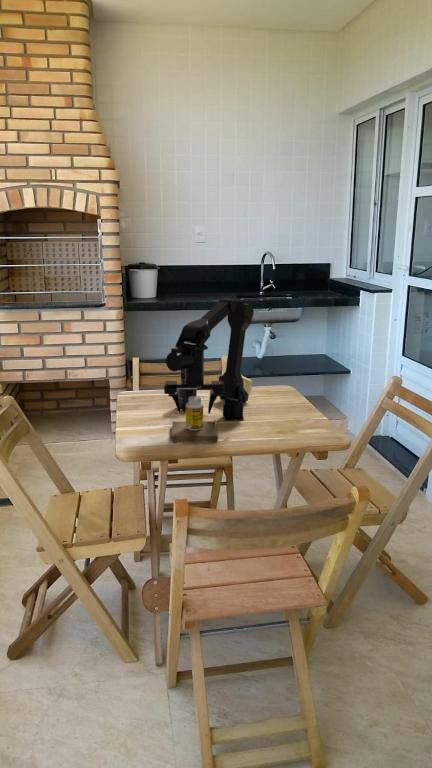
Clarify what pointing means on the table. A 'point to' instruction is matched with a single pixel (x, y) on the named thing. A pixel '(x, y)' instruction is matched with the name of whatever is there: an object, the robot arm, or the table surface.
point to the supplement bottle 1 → (185, 396)
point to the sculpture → (246, 385)
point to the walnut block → (194, 432)
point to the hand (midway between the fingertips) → (194, 413)
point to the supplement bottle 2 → (194, 413)
